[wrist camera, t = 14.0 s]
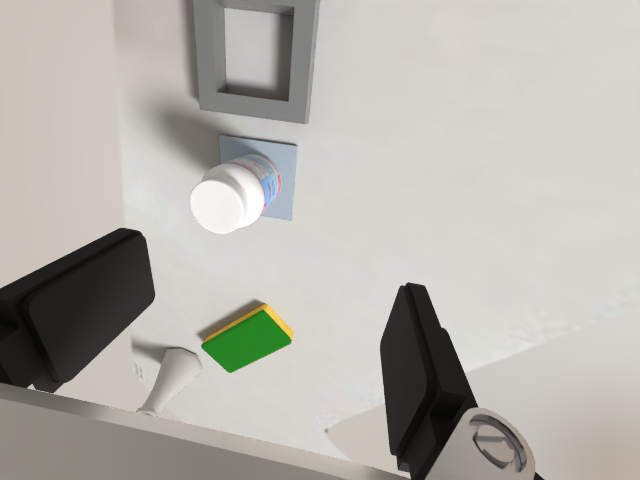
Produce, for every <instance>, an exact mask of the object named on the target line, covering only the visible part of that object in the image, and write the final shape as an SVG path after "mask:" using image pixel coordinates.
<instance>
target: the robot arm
mask: <svg viewBox="0 0 640 480" xmlns="http://www.w3.org/2000/svg"><path fill="white" fill-rule="evenodd" d="M154 298H155V290H154V284H153V279H152V273H151V267H150V261H149V255H148V249H147V243H146V239H145V237H144V236H142V233H141V232H140V231H137V230H132V229H127V228H119V229H117V230H115V231H113V232H111V233H109V234H107V235H105V236H103V237H102V238H99V239H97V240H95V241H93V242H91V243H89V244H87V245H86V246H83V247H81V248H80V249H78V250H76V251H74V252H72V253H70V254H68V255H66V256H64V257H62V258H60V259H58V260H56V261H54V262H52V263H50V264H48V265H46V266H44V267H42V268H40V269H38V270H36V271H34V272H32V273H30V274H28V275H26V276H24V277H22V278H20V279H18V280H16V281H14V282H13V283H10V284H8V285H6V286H4V287H2V288H0V480H544V479H543V478H542V477H540V476H539V475H538V474H537V473H536V472H535V460H534V457H533V454H532V451H531V449H530V447H529V446H528V444H527V442H526V440H525V439H524V437H523V436H522V435H521V434H520V433H519V431H518V430H517V429H516V428H515V427H514V426H512V425H511V424H510V423H509V422H508V421H507V420H506V419H504V418H503V417H501V416H500V415H498V414H497V413H495V412H492V411H489V410H487V409H485V408H484V409H483V408H478V405H477V403H476V400H475V398H474V395H473V393H472V390H471V388H470V386H469V383H468V381H467V378H466V376H465V373H464V371H463V368H462V366H461V363H460V361H459V359H458V356H457V354H456V351H455V349H454V346H453V344H452V341H451V339H450V336H449V334H448V332H447V330H446V329H444V328H441V326H440V323H439V320H438V318H437V315H436V313H435V310H434V308H433V305H432V302H431V300H430V297H429V295H428V292H427V289H426V287H425V286H424V285H419V284H414V283H409V282H408V283H407V284H406V285H405V286H402V285H401V286H400V288H399V290H398V293H397V296H396V299H395V302H394V305H393V308H392V310H391V313H390V316H389V319H388V322H387V325H386V328H385V330H384V333H383V336H382V339H381V344H380V354H381V364H382V374H383V384H384V395H385V405H386V415H387V424H388V435H389V446H390V452H391V454H392V455H395V456H397V466H398V470H400V471H405V472H409V473H410V476H411V479H409V478H406V477H403V476H399V475H396V474H392V473H389V472H386V471H382V470H380V469H376V468H373V467H369V466H365V465H361V464H357V463H353V462H349V461H345V460H341V459H337V458H333V457H329V456H325V455H321V454H317V453H313V452H309V451H305V450H300V449H296V448H291V447H287V446H283V445H278V444H274V443H270V442H265V441H261V440H256V439H252V438H248V437H243V436H239V435H235V434H230V433H226V432H221V431H217V430H213V429H208V428H204V427H199V426H195V425H190V424H186V423H181V422H177V421H172V420H168V419H163V418H159V417H154V416H150V415H146V414H141V413H136V412H132V411H127V410H122V409H118V408H114V407H109V406H105V405H100V404H96V403H91V402H87V401H82V400H77V399H73V398H68V397H63V396H59V395H54V394H50V393H54V392H55V391H56V390H57V389H58V388H59V387H60V386H62V384H63V383H66V382H68V381H70V380H72V379H73V378H74V377H75V376H76V375H77V374H78V373H79V372H80V371H81V370H82V369H83V368H84V367H86V365H88V364H89V363H90V362H91V361H92V360H93V359H94V358H95V357H96V356H97V355H98V354H99V353H100V352H101V351H102V350H103V349H104V348H105V347H106V346H107V345H109V344H110V343H111V342H112V341H113V340H114V339H115V338H116V337H117V336H118V335H119V334H120V333H121V332H122V331H123V330H124V329H125V328H126V327H127V326H129V325H130V324H131V323H132V322H133V321H134V320H135V319H136V318H137V317H138V316H139V315H140V314H141V313H142V312H143V311H144V310H145V309H146V308H147V307H148V306H150V305H151V303H152V302H153V301H154ZM31 384H33V386H34V387H35V389H36V390H40V391H45V392H49V393H45V392H40V391H36V390H31V389H27V387H28V386H30V385H31Z"/></svg>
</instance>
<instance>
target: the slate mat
mask: <svg viewBox="0 0 640 480" xmlns="http://www.w3.org/2000/svg"><path fill="white" fill-rule="evenodd" d="M219 150H220V164H223V163H226V162H228V161H231V160H234V159H236V158H239V157H242V156H245V155H249V154H257V155H261V156H263V157H265V158H267V159H269V160H270V161H271V162H273V163H274V164H275V166H276V167H277V168H278V170H279V172H280V175H281V181H282V184H281V190H280V192H279V194H278V196H277V197H276V199H275V200H274V201H273V202H272V203H271V204H270V205H269V206H268V207H267V209H266V210H265V211H264V212H263V213H262V214H261V215H260V216H264V217H271V218H277V219H284V220H291V219H292V209H293V196H294V184H295V171H296V159H297V146H295V145H288V144H281V143H273V142H266V141H259V140H252V139H245V138H238V137H230V136H223V135H219Z"/></svg>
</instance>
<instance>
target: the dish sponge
mask: <svg viewBox="0 0 640 480" xmlns="http://www.w3.org/2000/svg"><path fill="white" fill-rule="evenodd" d="M293 333H294V332H293V331H292V330H291V329H290V328H289V327H288V326H287V325H286V324H285V323H284V322H283V321H282V319H281V318H280V317H279V316H278V315H277V314H276V313H275V312H274V311H273V310H272V309H271V308H270V307H269V305H267V304H264V305H262V306H260V307H258V308H257V309H255V310H253V311H251V312H250V313H248V314H246V315H244V316H243V317H241V318H239V319H237V320H236V321H234V322H232V323H230V324H229V325H227V326H225V327H223V328H222V329H220V330H218V331H216V332H215V333H213V334H211V335H209V336H208V337H207V338H206V339H205V341H204V342H203V344H202V345H201V348H202V349H204V350H205V351H206V352H207V353H208V354H209V355H210V356H211V357H212V358H213V359H214V360H215V361H217V362H218V363H219V364H220V365H221V366H222V367H223V368H224V369H225V370H226V371H227V372H229V373H232V372H234V371H236V370H238V369H240V368H242V367H244V366H246V365H248V364H250V363H252V362H254V361H256V360H258V359H260V358H263V357H265V356H267V355H269V354H271V353H273V352H275V351H277V350H279V349H281V348H283V347H285V346H287V345H289V344H291V341H292V337H293Z"/></svg>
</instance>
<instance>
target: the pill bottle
mask: <svg viewBox="0 0 640 480" xmlns="http://www.w3.org/2000/svg"><path fill="white" fill-rule="evenodd" d="M281 184H282V181H281V175H280V172H279V170H278V168H277V167H276V166H275V164H274V163H273V162H271V161H270V160H269V159H267V158H265V157H263V156H261V155H257V154H249V155H245V156H242V157H239V158H236V159H234V160H231V161H228V162H226V163H223V164H220V165H217V166H215V167H213V168H212V169H210V170H209V171H208V172H207V173H206V174H205V175H204V177H203V178H202V180H201V182H200V183H198V184H197V185H196V186H195V187H194V189H193V190H192V192H191V195H190V201H189V202H190V209H191V212H192V214H193V216H194V218H195V219H196V221H197V222H198V223H199V224H200V225H201V226H202V227H204V228H205V229H207V230H209V231H211V232H214V233H228V232H231V231H233V230H235V229H236V228H241V227H245V226H247V225H250V224H251V223H253V222H254V221H255V220H256V219H257V218H258V217H259V216H260V215H261V214H262V213H263V212H264V211H265V210H266V209H267V207H268V206H269V205H270V204H271V203H272V202H273V201H274V200H275V199H276V197H277V196H278V194H279V192H280V190H281Z"/></svg>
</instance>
